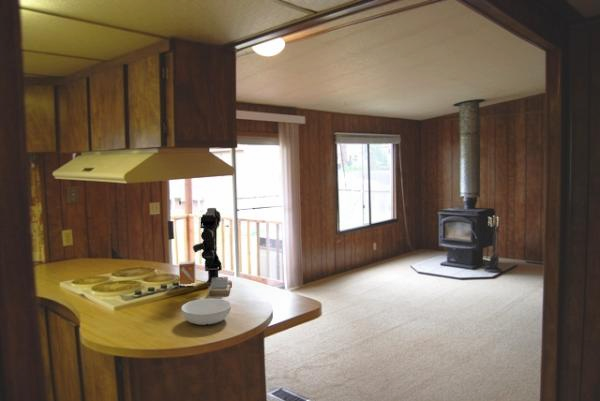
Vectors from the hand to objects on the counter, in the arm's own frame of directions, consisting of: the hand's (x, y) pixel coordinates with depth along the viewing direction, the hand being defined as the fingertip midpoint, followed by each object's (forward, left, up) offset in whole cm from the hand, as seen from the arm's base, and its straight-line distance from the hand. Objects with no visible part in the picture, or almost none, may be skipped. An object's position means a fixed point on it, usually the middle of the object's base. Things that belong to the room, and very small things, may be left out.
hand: (209, 266), depth 248 cm
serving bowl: (+51, +4, -12) cm, 53 cm away
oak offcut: (-3, +9, -12) cm, 15 cm away
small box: (-7, -13, -12) cm, 19 cm away
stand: (+9, +6, -12) cm, 16 cm away
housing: (+9, +6, -9) cm, 14 cm away
